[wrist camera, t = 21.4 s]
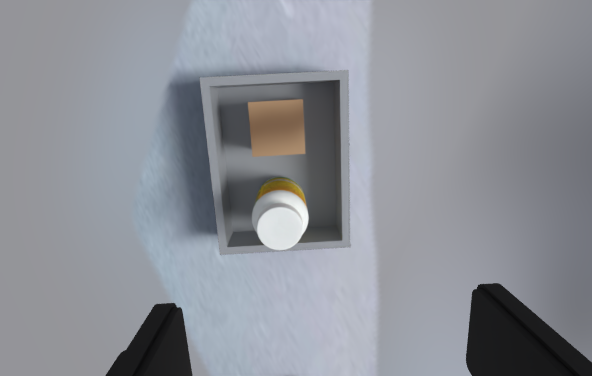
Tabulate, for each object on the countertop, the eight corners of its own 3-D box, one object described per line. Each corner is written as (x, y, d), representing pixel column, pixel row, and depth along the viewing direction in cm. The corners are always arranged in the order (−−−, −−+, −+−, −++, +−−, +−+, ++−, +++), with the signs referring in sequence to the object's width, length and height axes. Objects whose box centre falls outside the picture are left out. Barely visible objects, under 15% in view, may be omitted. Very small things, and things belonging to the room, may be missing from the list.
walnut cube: (302, 146, 37) (305, 153, 32) (256, 149, 37) (252, 156, 32) (300, 99, 36) (302, 99, 31) (252, 101, 35) (247, 102, 31)
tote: (342, 229, 40) (350, 247, 35) (227, 236, 40) (219, 254, 35) (339, 74, 36) (348, 70, 31) (211, 80, 36) (199, 77, 31)
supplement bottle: (306, 217, 39) (314, 254, 30) (260, 223, 39) (253, 262, 30) (301, 172, 37) (307, 196, 28) (253, 178, 37) (243, 204, 28)
